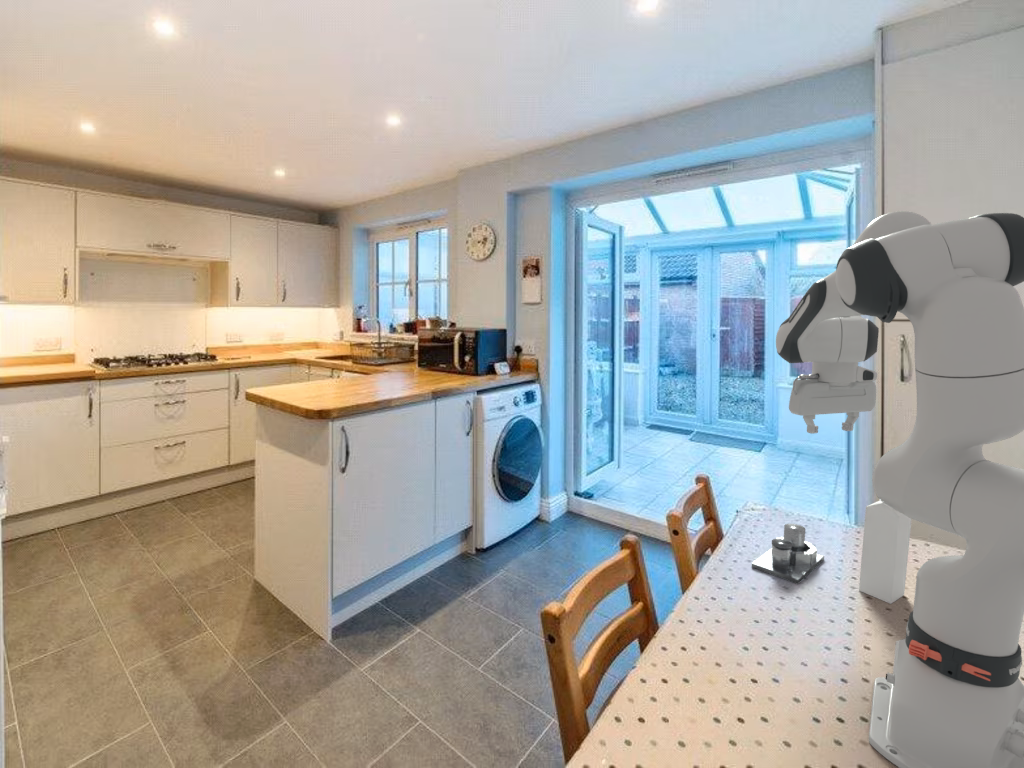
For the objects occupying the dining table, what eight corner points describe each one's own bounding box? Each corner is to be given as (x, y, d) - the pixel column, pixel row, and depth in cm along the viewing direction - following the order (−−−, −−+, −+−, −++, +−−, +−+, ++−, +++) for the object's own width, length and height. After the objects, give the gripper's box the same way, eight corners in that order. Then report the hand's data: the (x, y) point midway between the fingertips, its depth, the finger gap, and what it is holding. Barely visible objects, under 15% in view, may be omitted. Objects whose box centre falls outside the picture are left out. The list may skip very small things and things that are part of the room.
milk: (858, 591, 106) (865, 491, 103) (872, 582, 109) (879, 485, 106) (891, 604, 101) (900, 500, 98) (905, 595, 104) (914, 494, 101)
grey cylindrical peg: (808, 558, 118) (809, 530, 117) (791, 560, 117) (793, 532, 116) (794, 549, 122) (796, 522, 121) (778, 551, 122) (780, 524, 121)
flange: (797, 583, 109) (799, 555, 108) (751, 566, 117) (753, 540, 116) (823, 559, 119) (825, 533, 118) (779, 545, 127) (781, 520, 126)
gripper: (804, 376, 110) (800, 437, 111) (883, 372, 113) (878, 432, 115) (784, 373, 116) (780, 431, 118) (859, 369, 119) (855, 426, 121)
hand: (829, 431), depth 116 cm, fingers open, 8 cm apart
